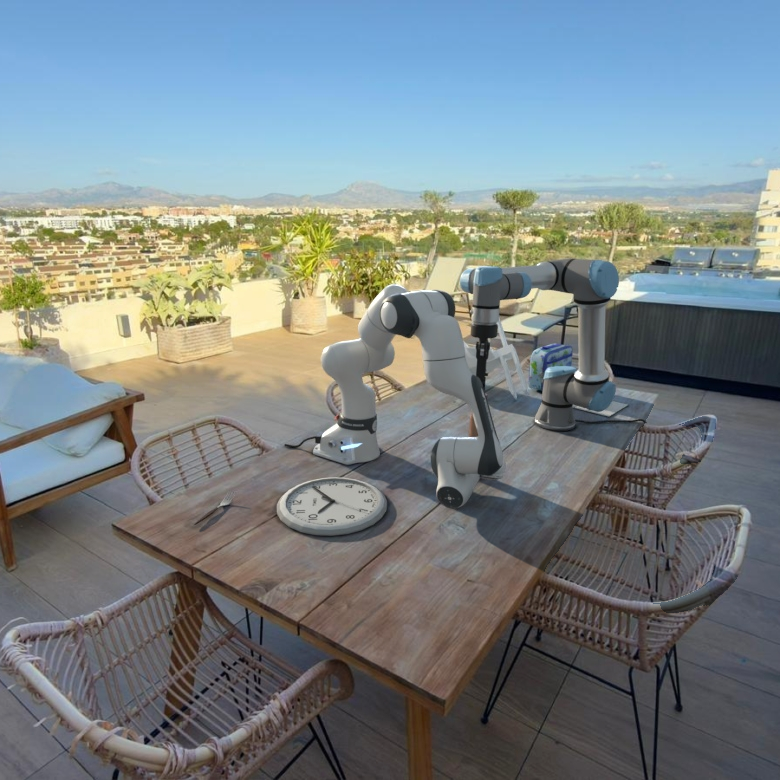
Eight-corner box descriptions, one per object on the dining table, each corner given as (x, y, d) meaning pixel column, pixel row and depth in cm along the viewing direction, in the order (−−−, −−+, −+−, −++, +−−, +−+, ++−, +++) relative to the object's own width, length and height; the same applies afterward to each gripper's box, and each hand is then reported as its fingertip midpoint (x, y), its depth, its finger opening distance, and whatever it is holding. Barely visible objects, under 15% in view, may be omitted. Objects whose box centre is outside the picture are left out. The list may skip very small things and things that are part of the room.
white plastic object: (461, 429, 252) (437, 405, 227) (444, 352, 274) (420, 323, 250) (535, 404, 240) (518, 377, 215) (510, 326, 262) (492, 293, 237)
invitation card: (608, 416, 214) (573, 407, 224) (608, 416, 214) (573, 408, 224) (628, 404, 229) (594, 396, 238) (628, 405, 229) (594, 397, 238)
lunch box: (544, 395, 239) (549, 351, 233) (524, 390, 247) (528, 347, 240) (571, 384, 257) (577, 343, 251) (552, 380, 264) (556, 339, 258)
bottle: (471, 470, 165) (477, 393, 157) (484, 475, 162) (490, 396, 154) (463, 475, 161) (468, 396, 154) (476, 480, 158) (481, 400, 151)
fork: (190, 525, 132) (189, 518, 131) (229, 496, 146) (228, 490, 145) (198, 527, 131) (198, 520, 130) (237, 498, 145) (236, 491, 145)
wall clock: (392, 527, 129) (268, 531, 127) (391, 533, 130) (269, 537, 127) (383, 473, 158) (282, 475, 155) (383, 478, 158) (282, 480, 156)
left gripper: (502, 469, 144) (510, 450, 156) (431, 456, 151) (444, 439, 163) (500, 489, 145) (508, 469, 158) (430, 476, 153) (443, 458, 165)
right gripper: (473, 316, 157) (468, 390, 164) (469, 327, 140) (463, 409, 146) (498, 318, 155) (492, 392, 162) (497, 329, 138) (491, 412, 145)
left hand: (475, 454), depth 160 cm, fingers closed on bottle, 5 cm apart
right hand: (479, 400), depth 154 cm, fingers open, 5 cm apart
